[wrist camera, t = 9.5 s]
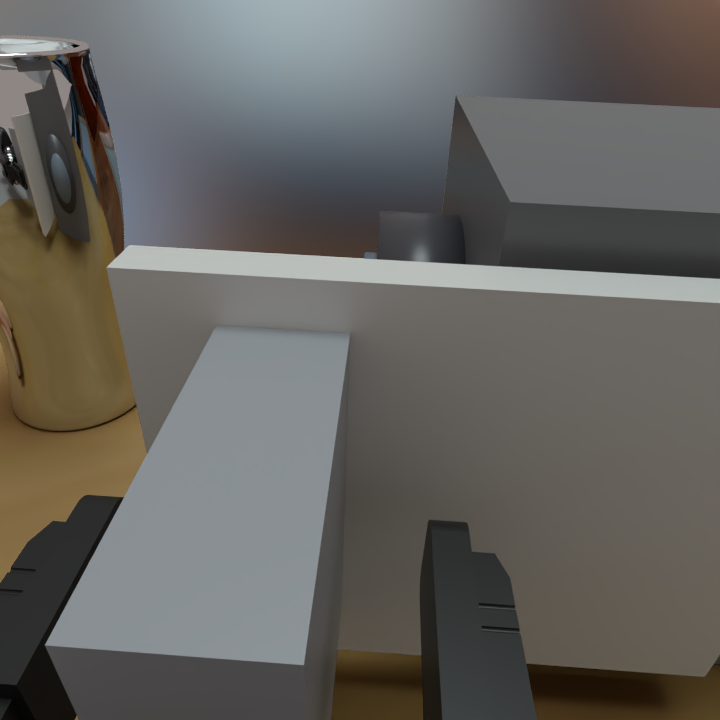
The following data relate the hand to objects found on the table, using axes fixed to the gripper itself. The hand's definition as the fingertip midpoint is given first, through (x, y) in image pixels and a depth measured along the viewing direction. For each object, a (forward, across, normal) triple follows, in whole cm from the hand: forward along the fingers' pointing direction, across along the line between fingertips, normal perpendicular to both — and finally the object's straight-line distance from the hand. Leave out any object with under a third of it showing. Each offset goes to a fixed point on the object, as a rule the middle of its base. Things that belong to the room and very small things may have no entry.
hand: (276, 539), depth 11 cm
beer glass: (+15, +12, +8) cm, 21 cm away
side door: (-1, -4, +6) cm, 7 cm away
